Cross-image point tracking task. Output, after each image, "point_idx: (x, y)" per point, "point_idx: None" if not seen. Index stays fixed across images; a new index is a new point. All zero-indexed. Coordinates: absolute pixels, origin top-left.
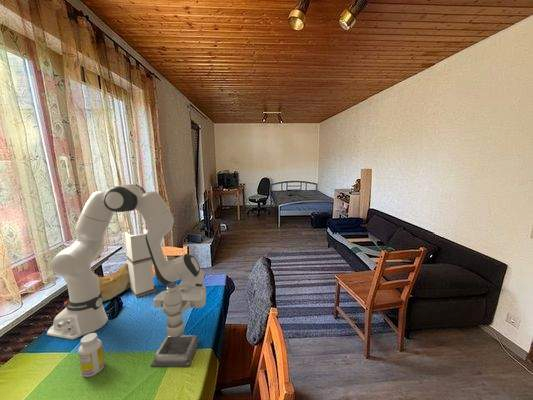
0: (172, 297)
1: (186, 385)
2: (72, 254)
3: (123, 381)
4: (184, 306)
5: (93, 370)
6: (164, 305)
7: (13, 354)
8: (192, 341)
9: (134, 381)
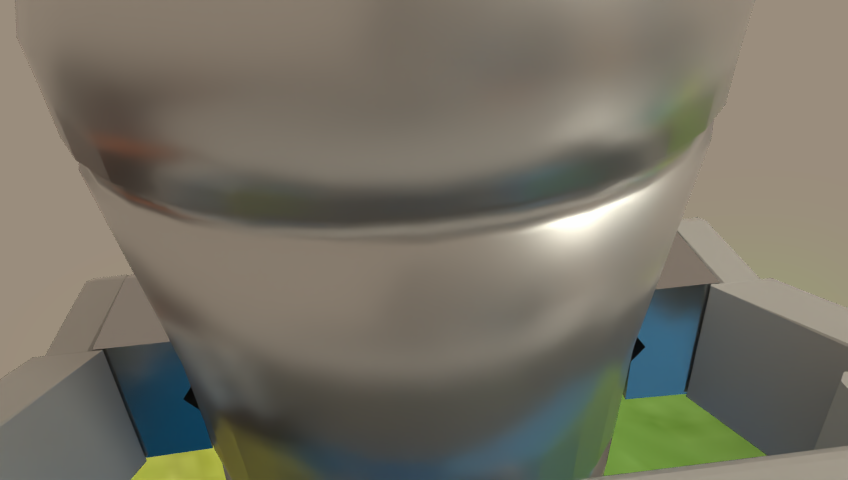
0: None
1: (210, 465)
2: None
3: (704, 427)
4: (69, 342)
5: None
6: (786, 300)
7: None
8: None
9: (623, 438)
